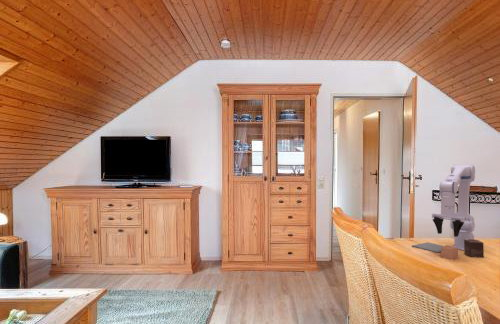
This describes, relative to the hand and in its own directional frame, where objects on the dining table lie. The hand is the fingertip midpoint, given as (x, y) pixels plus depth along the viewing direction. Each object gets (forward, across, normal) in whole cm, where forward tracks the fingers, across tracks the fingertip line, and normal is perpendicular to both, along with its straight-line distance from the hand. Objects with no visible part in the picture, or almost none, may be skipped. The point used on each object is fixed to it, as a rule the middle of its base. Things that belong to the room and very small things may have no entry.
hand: (447, 235), depth 150 cm
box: (+10, +4, +15) cm, 18 cm away
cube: (+11, 0, +2) cm, 11 cm away
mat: (+10, -14, +11) cm, 20 cm away
